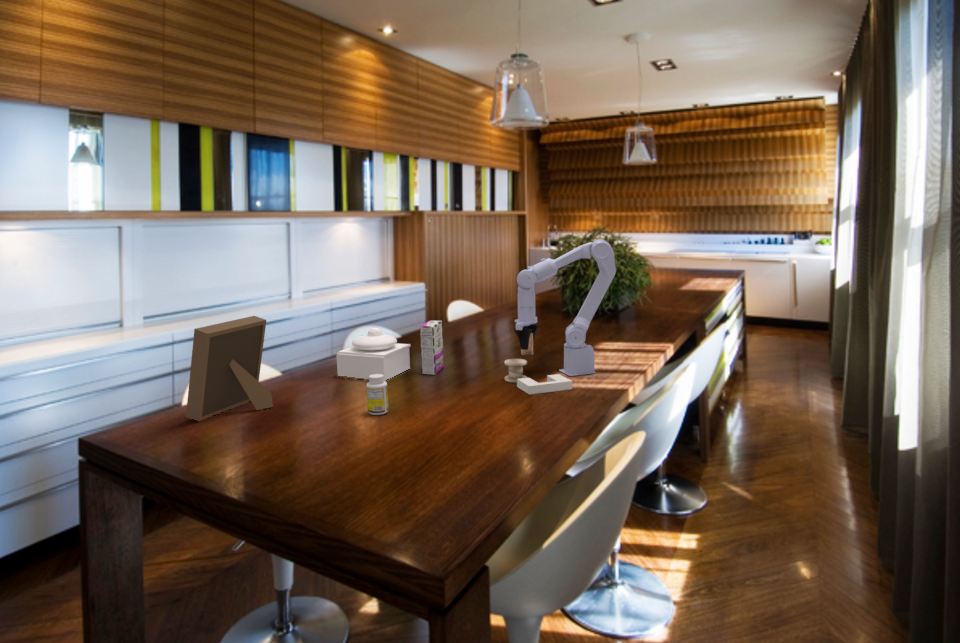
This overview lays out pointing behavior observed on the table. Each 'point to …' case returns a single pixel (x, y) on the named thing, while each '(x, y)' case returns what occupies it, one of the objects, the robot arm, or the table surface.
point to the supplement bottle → (377, 395)
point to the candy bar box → (431, 347)
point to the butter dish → (374, 356)
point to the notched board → (544, 384)
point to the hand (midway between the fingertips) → (527, 348)
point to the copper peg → (530, 348)
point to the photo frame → (227, 367)
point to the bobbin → (515, 369)
